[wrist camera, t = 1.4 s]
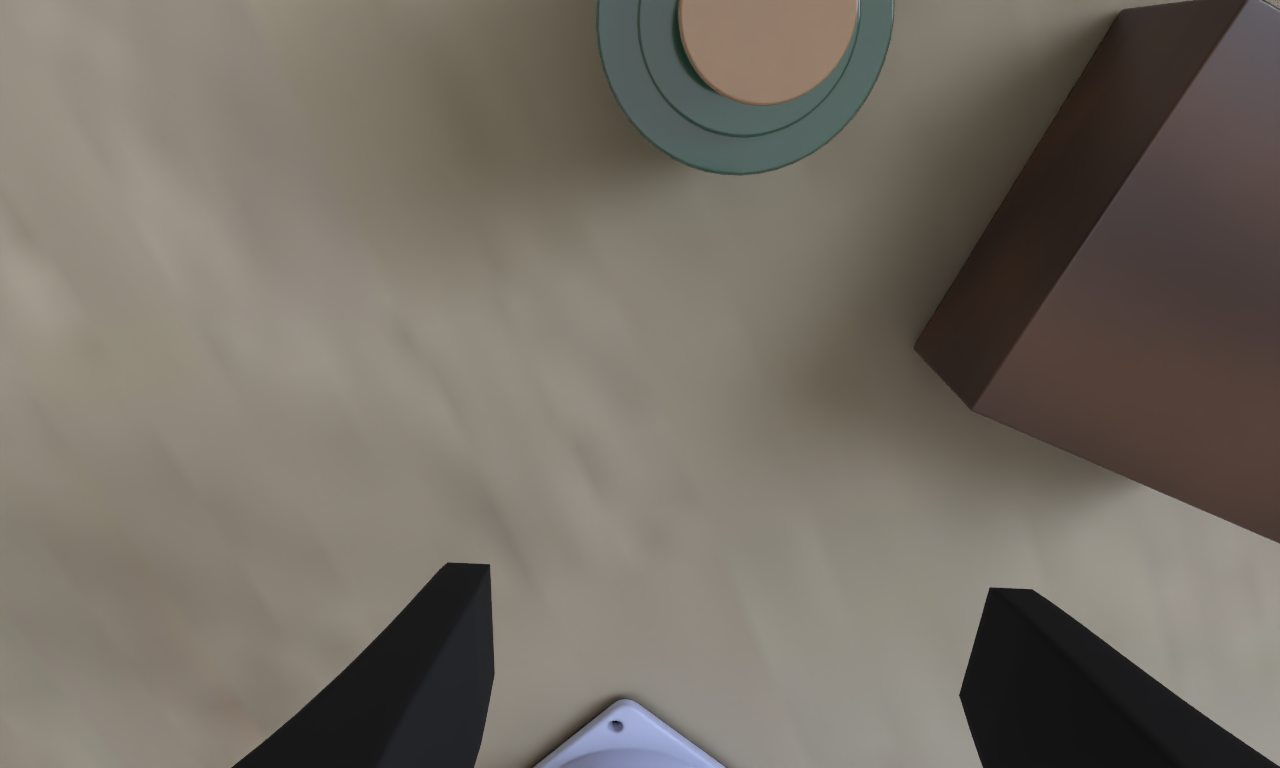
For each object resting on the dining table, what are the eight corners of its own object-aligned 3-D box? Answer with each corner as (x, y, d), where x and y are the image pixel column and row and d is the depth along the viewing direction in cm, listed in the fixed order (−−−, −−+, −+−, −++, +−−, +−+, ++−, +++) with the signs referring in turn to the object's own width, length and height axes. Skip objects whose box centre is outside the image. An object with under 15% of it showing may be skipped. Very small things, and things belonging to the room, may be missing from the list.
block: (1181, 466, 22) (1291, 549, 18) (911, 348, 20) (969, 410, 17) (1425, 171, 18) (1620, 198, 15) (1121, 8, 17) (1251, -9, 13)
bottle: (716, 191, 19) (759, 270, 11) (567, 39, 17) (505, 18, 10) (872, 30, 17) (1036, 3, 10) (721, -148, 16) (781, -334, 9)
